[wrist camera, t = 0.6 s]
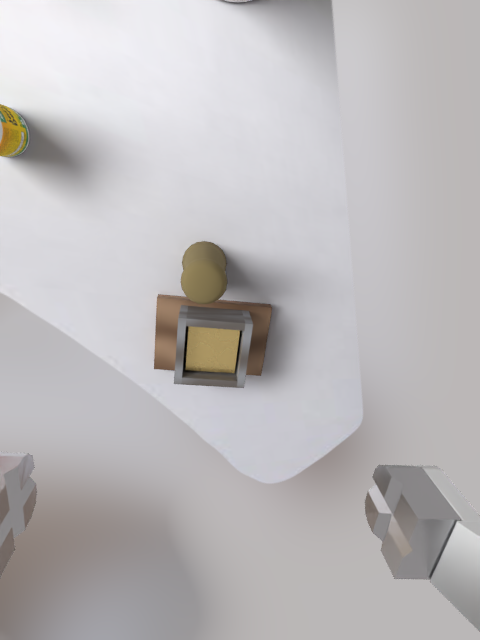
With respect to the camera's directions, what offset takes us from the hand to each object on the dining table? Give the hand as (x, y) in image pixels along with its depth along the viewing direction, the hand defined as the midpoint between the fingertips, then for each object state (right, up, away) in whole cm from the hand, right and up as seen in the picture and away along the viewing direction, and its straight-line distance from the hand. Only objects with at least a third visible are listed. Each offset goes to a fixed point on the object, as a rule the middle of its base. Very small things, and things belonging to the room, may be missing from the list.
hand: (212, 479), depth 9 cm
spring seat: (-3, 0, +41) cm, 41 cm away
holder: (-4, +2, +45) cm, 45 cm away
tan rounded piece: (-4, +12, +41) cm, 43 cm away
